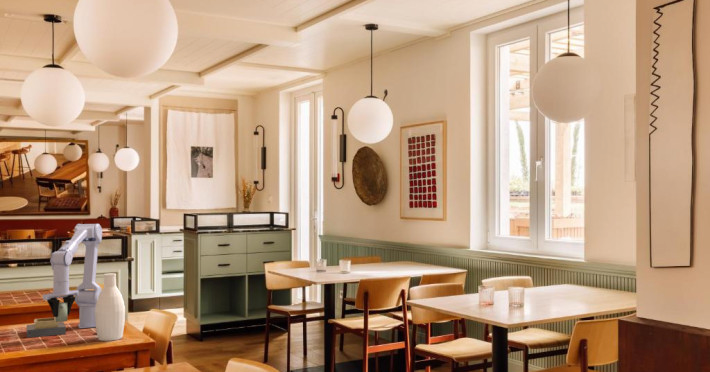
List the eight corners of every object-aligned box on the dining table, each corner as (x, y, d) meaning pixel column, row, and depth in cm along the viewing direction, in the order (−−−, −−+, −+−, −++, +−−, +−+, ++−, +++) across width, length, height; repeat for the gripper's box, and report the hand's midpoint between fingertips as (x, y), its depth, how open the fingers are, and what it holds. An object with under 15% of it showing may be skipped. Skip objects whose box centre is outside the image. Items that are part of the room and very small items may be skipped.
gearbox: (63, 329, 287) (63, 315, 287) (65, 334, 276) (65, 320, 276) (26, 332, 281) (26, 318, 281) (27, 337, 270) (27, 323, 270)
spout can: (67, 319, 272) (66, 301, 272) (68, 321, 267) (68, 304, 267) (54, 320, 270) (54, 302, 270) (55, 322, 265) (55, 304, 265)
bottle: (107, 342, 259) (107, 276, 260) (89, 339, 265) (88, 274, 266) (131, 337, 269) (131, 273, 269) (113, 334, 275) (112, 271, 275)
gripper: (71, 278, 278) (71, 312, 278) (38, 282, 266) (38, 317, 266) (82, 279, 274) (82, 313, 274) (48, 284, 262) (48, 319, 262)
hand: (61, 315), depth 269 cm, fingers closed on spout can, 4 cm apart
